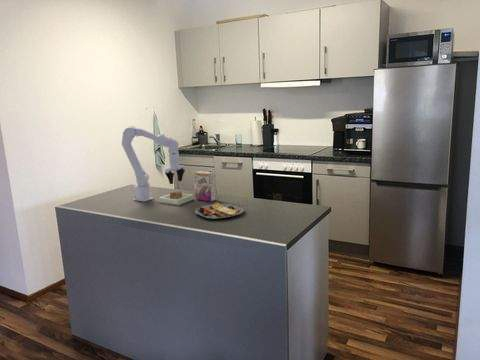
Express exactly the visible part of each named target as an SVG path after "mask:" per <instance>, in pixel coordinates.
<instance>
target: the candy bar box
mask: <svg viewBox="0 0 480 360" xmlns="http://www.w3.org/2000/svg"><path fill="white" fill-rule="evenodd" d="M215 175H216V174H215V172H210V171H200V170H199V171H195V172H194V180H195V181H194V183H195V184H194V186H195V185H196V197H195V198H196V199H195V200H198V201H206V202H213V201H216V196H217V195H216V179H215V177H216V176H215Z"/></svg>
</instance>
